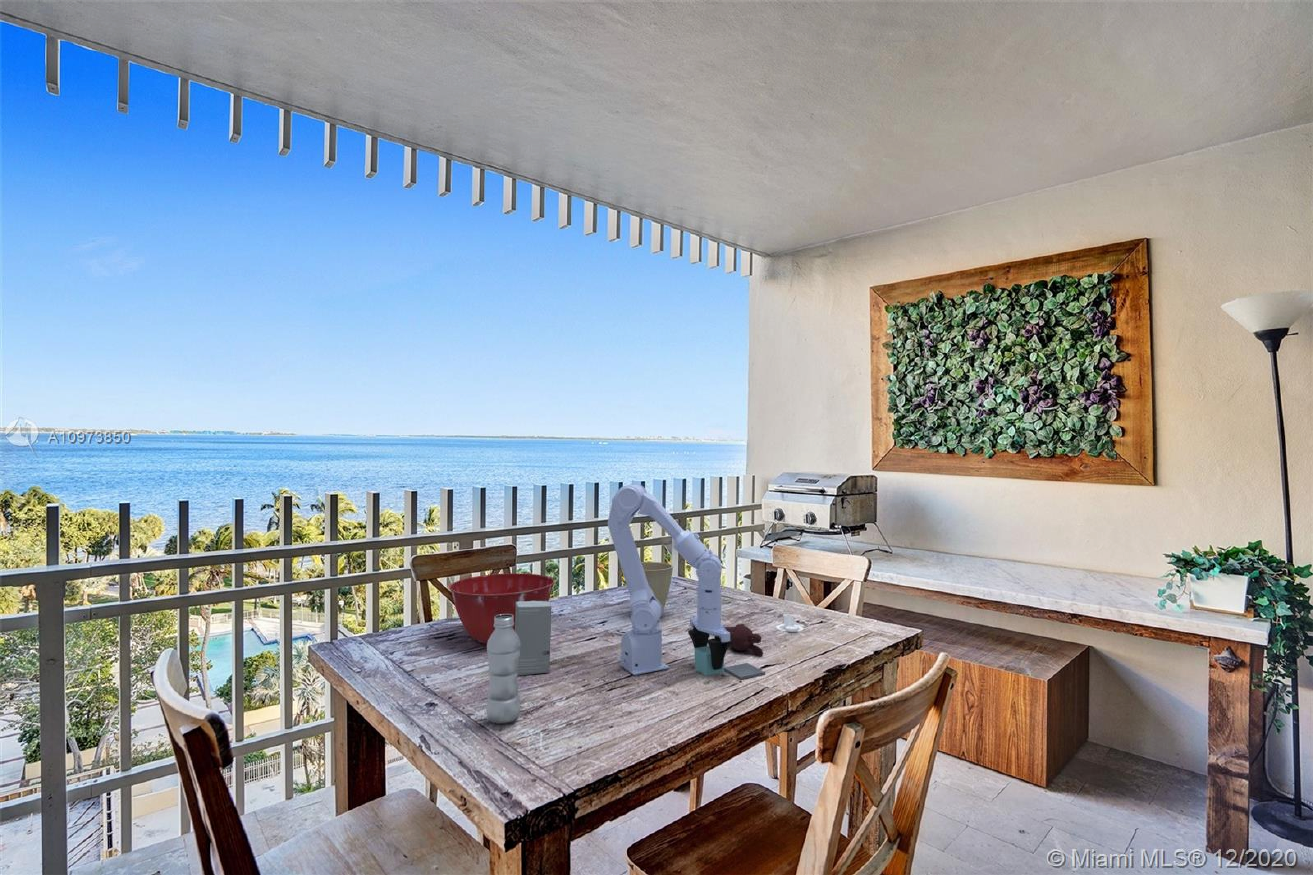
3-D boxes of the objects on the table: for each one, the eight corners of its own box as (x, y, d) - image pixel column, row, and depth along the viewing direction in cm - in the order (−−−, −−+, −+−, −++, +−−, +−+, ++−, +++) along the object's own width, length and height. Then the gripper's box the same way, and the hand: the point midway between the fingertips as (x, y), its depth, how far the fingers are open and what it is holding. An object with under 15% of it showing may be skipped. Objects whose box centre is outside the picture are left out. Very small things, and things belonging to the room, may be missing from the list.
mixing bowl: (432, 636, 170) (432, 580, 171) (522, 618, 189) (523, 568, 190) (476, 662, 149) (477, 599, 150) (574, 639, 168) (574, 582, 169)
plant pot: (681, 614, 193) (681, 564, 194) (656, 626, 181) (656, 572, 181) (642, 608, 201) (642, 559, 202) (615, 618, 189) (616, 567, 189)
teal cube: (706, 676, 141) (706, 654, 141) (694, 669, 146) (694, 648, 146) (723, 672, 144) (723, 651, 144) (712, 665, 148) (712, 645, 148)
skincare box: (514, 676, 140) (515, 607, 140) (513, 666, 147) (513, 600, 147) (551, 673, 142) (552, 605, 143) (548, 663, 149) (549, 598, 150)
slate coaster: (740, 679, 139) (740, 677, 139) (723, 670, 145) (723, 667, 145) (765, 674, 142) (765, 672, 142) (747, 665, 148) (747, 662, 148)
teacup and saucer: (797, 635, 173) (797, 621, 173) (770, 631, 177) (770, 617, 177) (807, 628, 181) (807, 614, 181) (781, 624, 185) (781, 610, 185)
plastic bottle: (523, 712, 121) (524, 611, 121) (516, 728, 114) (517, 621, 115) (490, 713, 121) (491, 611, 121) (481, 728, 114) (482, 621, 114)
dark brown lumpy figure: (707, 622, 162) (750, 640, 151) (726, 610, 167) (769, 628, 155) (710, 645, 164) (753, 666, 152) (729, 633, 168) (772, 652, 157)
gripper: (741, 611, 140) (741, 671, 140) (706, 598, 153) (706, 652, 153) (715, 615, 137) (715, 676, 137) (682, 601, 150) (682, 657, 150)
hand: (709, 664), depth 145 cm, fingers open, 6 cm apart
